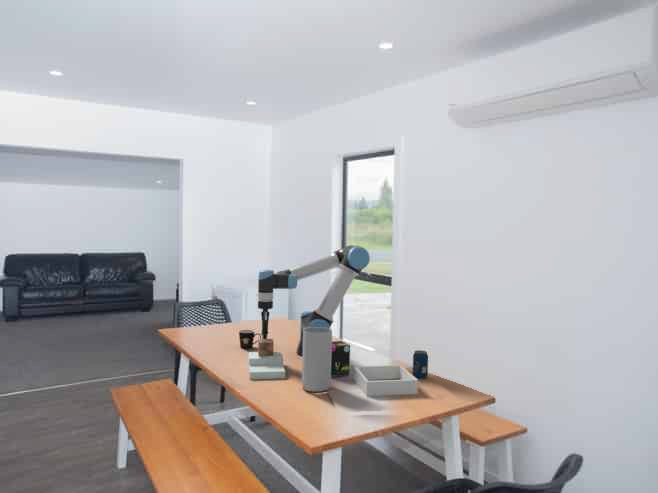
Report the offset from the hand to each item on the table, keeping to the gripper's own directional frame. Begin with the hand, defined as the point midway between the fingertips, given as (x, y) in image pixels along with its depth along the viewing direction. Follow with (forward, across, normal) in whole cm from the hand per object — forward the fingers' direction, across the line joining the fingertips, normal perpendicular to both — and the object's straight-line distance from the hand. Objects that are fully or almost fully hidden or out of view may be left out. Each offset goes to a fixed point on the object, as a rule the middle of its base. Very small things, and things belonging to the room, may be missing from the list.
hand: (264, 346), depth 243 cm
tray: (+8, +42, +50) cm, 66 cm away
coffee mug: (+8, -28, -7) cm, 30 cm away
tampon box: (+8, +22, +32) cm, 40 cm away
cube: (+2, +9, 0) cm, 10 cm away
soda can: (+8, +31, +71) cm, 78 cm away
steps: (+8, +15, 0) cm, 17 cm away
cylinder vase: (+8, +40, +20) cm, 46 cm away
